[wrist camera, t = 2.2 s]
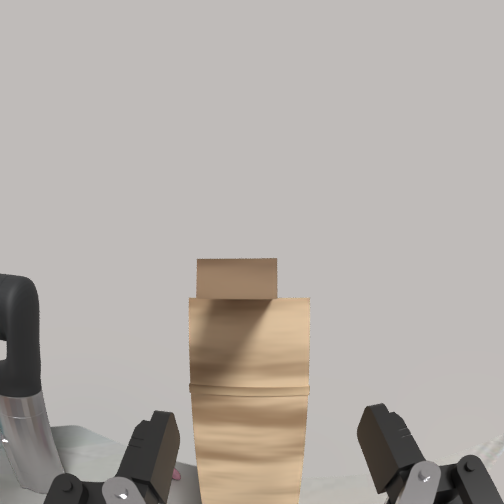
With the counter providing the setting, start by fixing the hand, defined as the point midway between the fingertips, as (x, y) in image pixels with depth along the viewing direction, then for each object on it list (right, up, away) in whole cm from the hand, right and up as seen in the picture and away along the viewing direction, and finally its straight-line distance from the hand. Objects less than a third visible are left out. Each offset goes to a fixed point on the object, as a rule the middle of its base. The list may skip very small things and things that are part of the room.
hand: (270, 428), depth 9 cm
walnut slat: (-1, +3, +15) cm, 15 cm away
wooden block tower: (-1, -29, +12) cm, 32 cm away
